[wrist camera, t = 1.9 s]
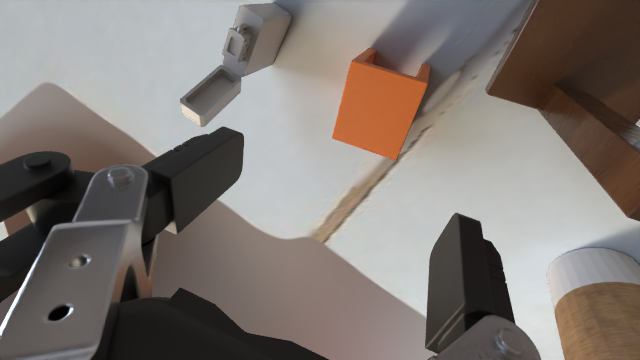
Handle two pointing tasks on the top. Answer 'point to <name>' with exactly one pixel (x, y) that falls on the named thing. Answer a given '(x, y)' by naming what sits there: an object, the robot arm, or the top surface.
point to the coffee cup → (596, 304)
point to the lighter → (238, 59)
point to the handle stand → (583, 84)
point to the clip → (378, 106)
